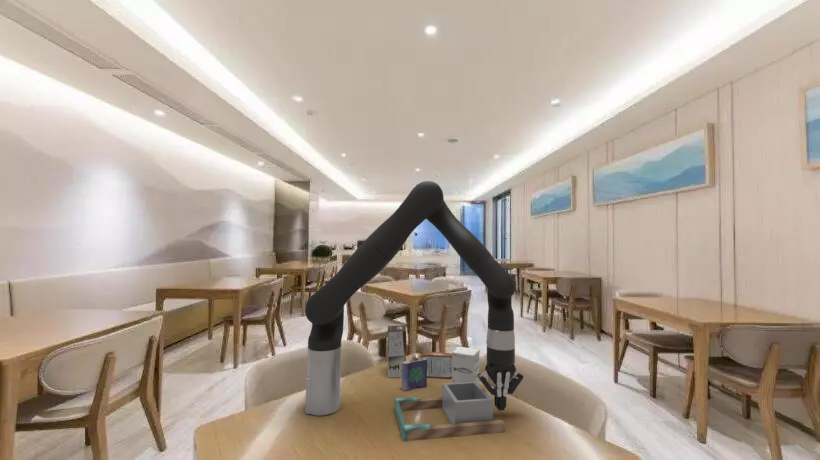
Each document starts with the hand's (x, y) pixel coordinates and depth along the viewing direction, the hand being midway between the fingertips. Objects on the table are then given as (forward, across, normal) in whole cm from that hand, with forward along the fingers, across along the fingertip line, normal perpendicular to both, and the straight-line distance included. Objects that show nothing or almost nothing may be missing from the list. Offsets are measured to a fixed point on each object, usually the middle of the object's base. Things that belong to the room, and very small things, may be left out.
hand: (500, 409), depth 96 cm
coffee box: (+2, -24, +36) cm, 43 cm away
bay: (+2, -15, 0) cm, 15 cm away
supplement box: (+2, -4, +18) cm, 18 cm away
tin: (+2, -10, +30) cm, 32 cm away
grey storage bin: (+2, -10, 0) cm, 10 cm away
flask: (+2, -20, +22) cm, 30 cm away
